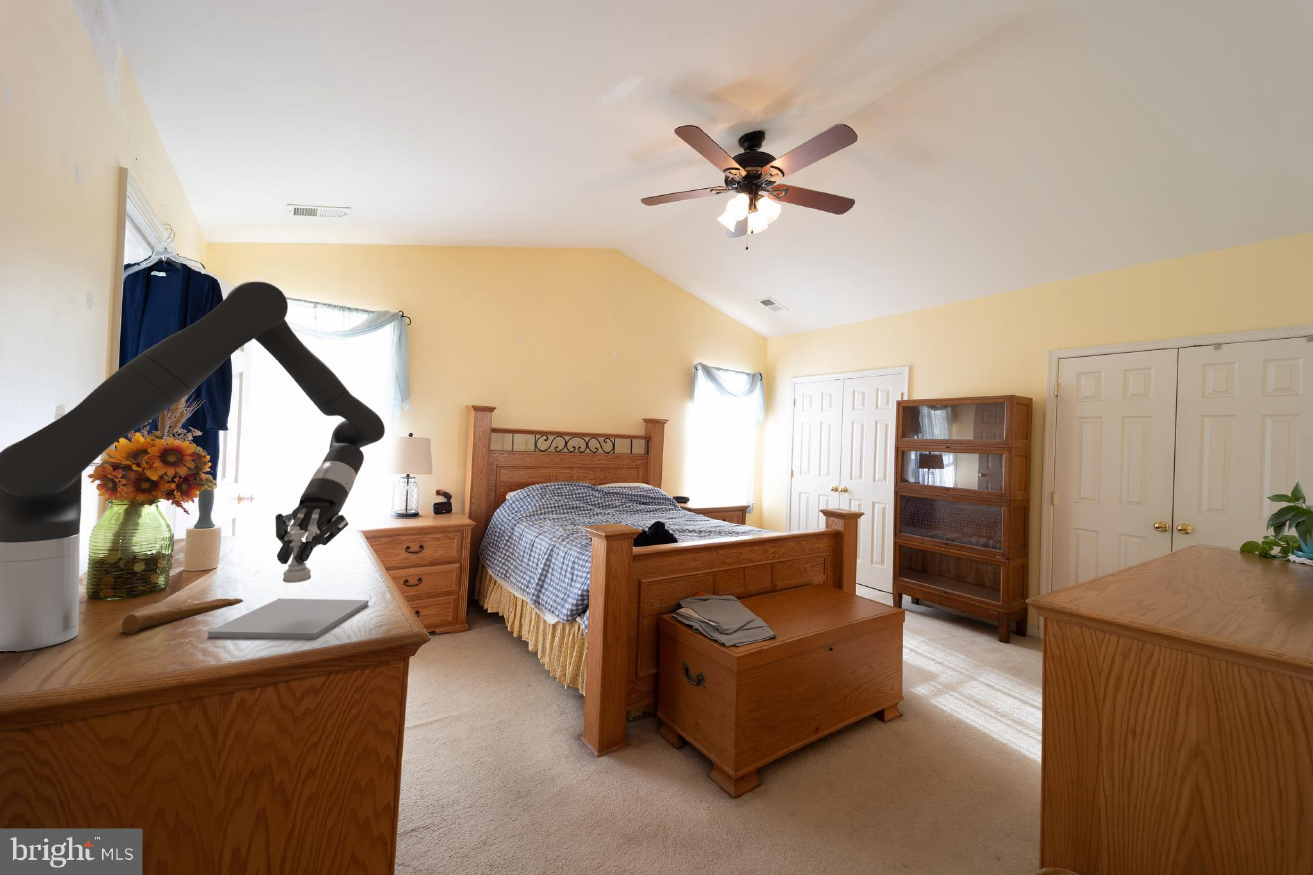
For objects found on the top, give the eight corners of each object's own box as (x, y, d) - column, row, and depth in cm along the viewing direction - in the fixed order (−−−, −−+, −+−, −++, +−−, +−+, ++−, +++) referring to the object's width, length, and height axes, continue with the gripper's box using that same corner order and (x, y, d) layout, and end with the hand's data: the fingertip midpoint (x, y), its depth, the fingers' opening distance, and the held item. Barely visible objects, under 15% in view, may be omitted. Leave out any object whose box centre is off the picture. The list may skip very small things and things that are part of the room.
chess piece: (277, 581, 100) (277, 527, 99) (299, 575, 104) (300, 523, 104) (294, 584, 98) (294, 529, 98) (316, 578, 102) (317, 525, 102)
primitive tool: (223, 600, 112) (224, 583, 112) (246, 603, 111) (246, 586, 111) (116, 635, 93) (116, 614, 93) (142, 638, 92) (142, 618, 92)
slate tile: (207, 637, 92) (207, 631, 92) (279, 603, 110) (279, 598, 110) (314, 639, 92) (315, 633, 92) (368, 604, 110) (368, 600, 110)
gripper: (286, 475, 108) (240, 550, 96) (357, 477, 108) (319, 551, 96) (303, 498, 113) (261, 571, 101) (370, 499, 114) (336, 573, 102)
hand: (290, 561), depth 99 cm, fingers closed on chess piece, 2 cm apart
